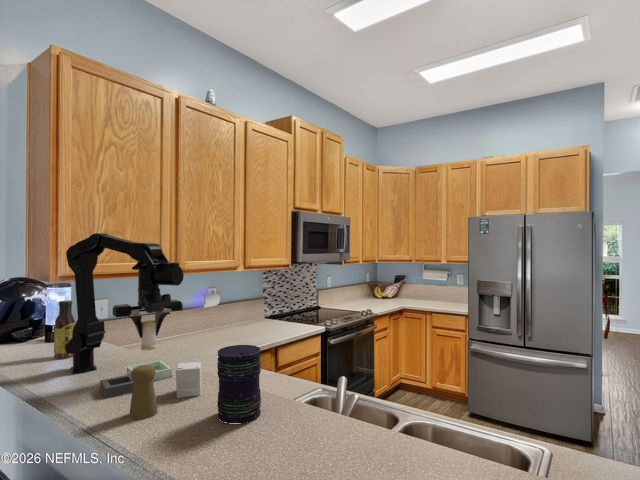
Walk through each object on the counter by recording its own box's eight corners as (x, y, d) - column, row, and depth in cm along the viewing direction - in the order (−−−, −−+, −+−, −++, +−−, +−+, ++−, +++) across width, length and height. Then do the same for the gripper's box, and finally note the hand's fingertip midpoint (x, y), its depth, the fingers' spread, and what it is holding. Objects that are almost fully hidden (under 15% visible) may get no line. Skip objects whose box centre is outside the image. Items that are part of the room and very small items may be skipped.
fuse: (139, 348, 117) (139, 321, 117) (154, 345, 119) (154, 319, 119) (143, 351, 113) (143, 323, 114) (158, 348, 116) (158, 321, 116)
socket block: (100, 389, 106) (100, 380, 106) (131, 382, 111) (131, 374, 111) (105, 398, 99) (105, 388, 99) (139, 390, 104) (139, 381, 104)
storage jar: (214, 410, 92) (214, 347, 92) (255, 403, 96) (254, 342, 96) (221, 428, 83) (221, 358, 83) (266, 420, 86) (265, 353, 87)
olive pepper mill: (129, 422, 86) (129, 372, 86) (128, 411, 91) (128, 365, 92) (158, 416, 89) (158, 368, 89) (156, 406, 94) (156, 361, 94)
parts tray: (126, 374, 118) (126, 366, 118) (160, 368, 124) (160, 360, 124) (136, 384, 109) (136, 375, 109) (172, 377, 115) (172, 368, 115)
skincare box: (201, 387, 107) (201, 360, 107) (200, 396, 101) (200, 367, 101) (178, 389, 105) (178, 362, 105) (175, 398, 99) (175, 369, 99)
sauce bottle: (67, 359, 134) (67, 302, 134) (49, 359, 134) (49, 302, 134) (79, 354, 141) (79, 299, 141) (62, 354, 141) (62, 299, 141)
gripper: (120, 289, 105) (120, 347, 104) (188, 284, 116) (188, 336, 116) (112, 286, 113) (112, 339, 113) (176, 282, 125) (176, 330, 125)
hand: (148, 336), depth 116 cm, fingers closed on fuse, 4 cm apart
